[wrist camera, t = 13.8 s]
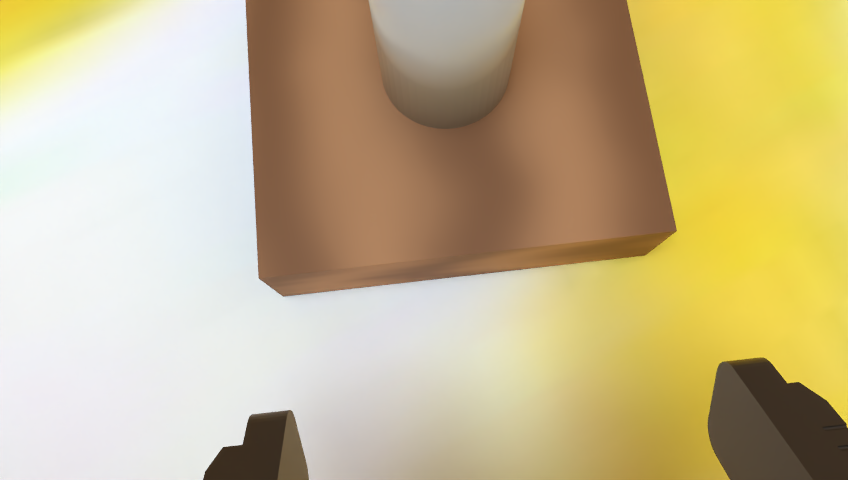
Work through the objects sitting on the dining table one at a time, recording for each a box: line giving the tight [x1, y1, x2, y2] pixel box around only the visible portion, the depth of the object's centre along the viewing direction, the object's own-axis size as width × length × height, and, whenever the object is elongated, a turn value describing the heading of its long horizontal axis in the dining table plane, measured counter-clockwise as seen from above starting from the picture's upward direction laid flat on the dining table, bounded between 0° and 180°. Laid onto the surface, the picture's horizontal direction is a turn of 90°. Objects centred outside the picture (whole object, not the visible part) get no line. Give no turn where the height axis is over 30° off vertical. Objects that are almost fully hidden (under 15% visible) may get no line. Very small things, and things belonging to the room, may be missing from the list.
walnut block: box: [246, 0, 677, 296], centre depth 25 cm, size 14×14×4 cm
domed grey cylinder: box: [369, 0, 525, 129], centre depth 20 cm, size 5×5×8 cm
